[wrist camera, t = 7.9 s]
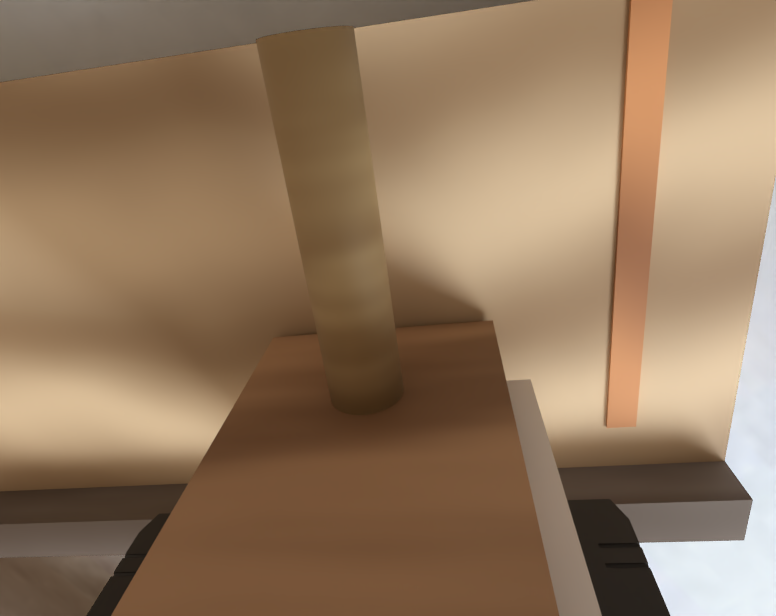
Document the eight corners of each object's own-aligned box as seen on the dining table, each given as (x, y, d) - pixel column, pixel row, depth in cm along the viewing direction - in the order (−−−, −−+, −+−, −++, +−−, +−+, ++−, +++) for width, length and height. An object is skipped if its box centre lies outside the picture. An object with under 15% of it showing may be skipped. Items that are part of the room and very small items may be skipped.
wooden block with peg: (204, 60, 12) (-612, 55, 3) (477, 19, 11) (699, -201, 2) (308, 475, 17) (156, 971, 8) (500, 467, 16) (587, 1008, 7)
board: (-147, 110, 15) (-302, 123, 12) (756, -27, 12) (874, -60, 9) (48, 482, 21) (-22, 558, 18) (688, 454, 18) (743, 539, 15)
